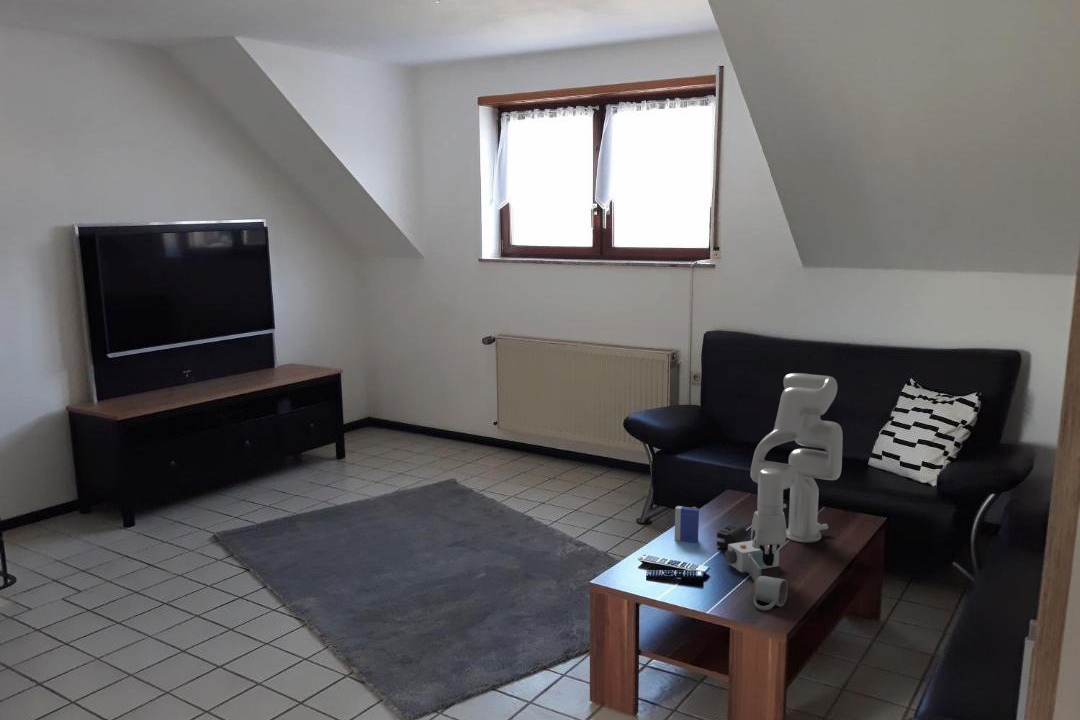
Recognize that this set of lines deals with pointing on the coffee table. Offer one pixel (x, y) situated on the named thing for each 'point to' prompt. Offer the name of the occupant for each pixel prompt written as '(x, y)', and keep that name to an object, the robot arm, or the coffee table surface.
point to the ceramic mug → (770, 591)
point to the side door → (753, 568)
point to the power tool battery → (731, 537)
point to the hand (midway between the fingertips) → (768, 564)
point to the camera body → (739, 556)
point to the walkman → (686, 524)
